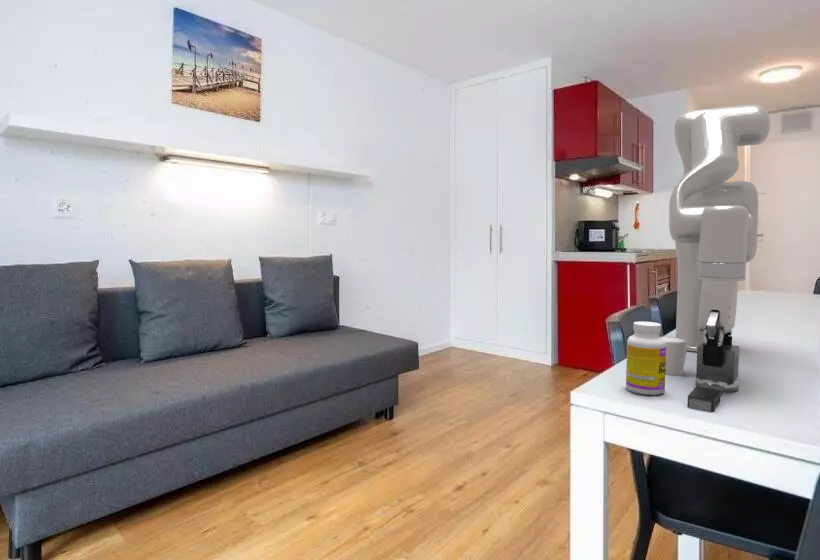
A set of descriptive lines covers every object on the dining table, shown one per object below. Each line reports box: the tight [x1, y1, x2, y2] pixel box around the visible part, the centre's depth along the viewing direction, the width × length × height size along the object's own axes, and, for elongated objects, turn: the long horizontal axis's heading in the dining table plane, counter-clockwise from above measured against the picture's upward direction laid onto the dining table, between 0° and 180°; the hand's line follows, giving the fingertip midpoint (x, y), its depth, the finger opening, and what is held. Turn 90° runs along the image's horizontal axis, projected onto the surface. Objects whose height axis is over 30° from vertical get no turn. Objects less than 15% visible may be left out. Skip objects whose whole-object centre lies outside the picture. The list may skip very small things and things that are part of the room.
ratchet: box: [686, 377, 740, 413], centre depth 88 cm, size 20×7×6 cm, turn 139°
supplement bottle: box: [625, 321, 666, 396], centre depth 91 cm, size 7×7×13 cm
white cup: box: [661, 336, 688, 376], centre depth 104 cm, size 7×7×7 cm
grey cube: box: [695, 342, 740, 384], centre depth 93 cm, size 6×6×6 cm
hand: (717, 360), depth 93 cm, fingers open, 9 cm apart
